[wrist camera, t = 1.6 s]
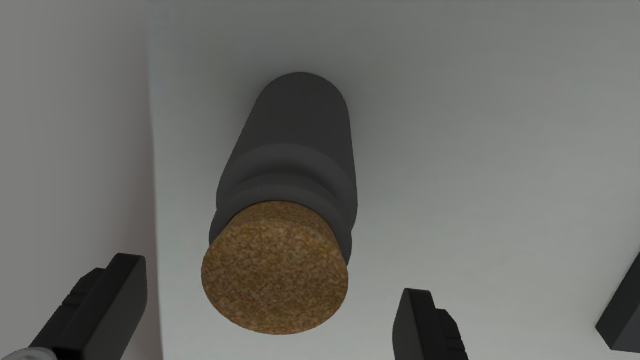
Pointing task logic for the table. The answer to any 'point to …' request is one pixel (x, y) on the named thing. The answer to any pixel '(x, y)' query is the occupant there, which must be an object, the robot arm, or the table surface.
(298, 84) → the bottle
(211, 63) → the table surface
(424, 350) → the robot arm
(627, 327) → the scale
